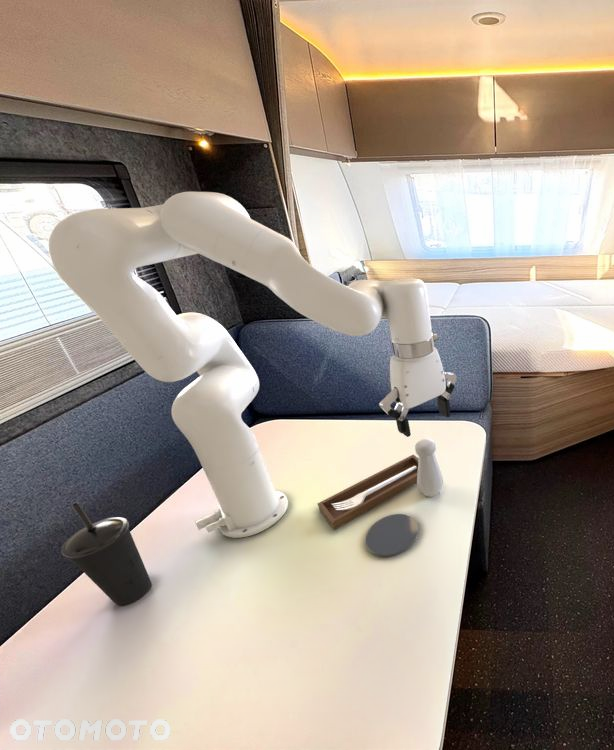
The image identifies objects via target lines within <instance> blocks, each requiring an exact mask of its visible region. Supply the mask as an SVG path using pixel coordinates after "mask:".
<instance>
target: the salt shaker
mask: <svg viewBox="0 0 614 750" xmlns="http://www.w3.org/2000/svg"><path fill="white" fill-rule="evenodd" d="M414 450H415V454H416V455H417V456H418V457H417V458H418V474H417V483H416V486H417V489H418V490H419V491H420V492H421V494H422V495H423V496H424V497H431V498H433V497H435V496H437V495H438V494H440V493H441V489H442V487H443V485H444V478H443V475H442V471H441V469H440V466H439V463H438V461H437V458H436V455H435V452H436V450H437V448H436V442H435V441H434V440H433V439H431V438H423V439H419V440H418V441H417V442H416V443H415V445H414Z"/></svg>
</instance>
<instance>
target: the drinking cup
mask: <svg viewBox="0 0 614 750" xmlns="http://www.w3.org/2000/svg"><path fill="white" fill-rule="evenodd" d="M71 507H72V509H74V511H75V513H76V514H77V516H78V517H79V519H80V521H81V522H82V523H83V525H84V526H85V527H83V528H81V529H79V530H78V531H77V532H75V533H74V534H73V535H71V536H70V537H69V538H68V539H67V540H66V541H65V542H64V543H63V544H62V545H61V549H60V552H61V554H62V556H63V557H65V558H67V559H70V560H71V562H73V563H74V564H75V565H76V566H77V567H78V568H79V569H80V570H81V571H82V572H83V573H84V574H85V575H86V576H87V577H88V578H89V579H90V580H91V581H92V582H93V583H94V584H95V585H96V586H97V587H98V588H99V589H100V590H101V591H102V592H103V593H104V594H105V595H106V596H107V597H108V598H109V599H110V601H112V602H113V603H114V604H115V605H116V606H118V607H125V606H128V605H131V604H134V603H136V602H138V601H139V600H141V599H142V598H143V597H144V596H145V595H147V593H149V591H150V589H152V585H153V584H152V580H151V578H150V576H149V574H148V573H149V572H148V571H147V568H146V566H145V564H144V561H143V559H142V557H141V554H140V552H139V549H138V547H137V544H136V543H135V540H134V537H133V535H132V533H131V530H130V529H129V526H130V524H129V523H130V522H129V521H128V519H127V518H125V517H122V516H112V517H107V518H104V519H100V520H98V521H96V522H93V523H92V522H91V521H90V518H89V516H88V515H87V514H86V513H85V511H84V510H83V508H82V507H81V505H80V503H79V502H75V503H73V504H72V505H71Z"/></svg>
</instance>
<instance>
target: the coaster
mask: <svg viewBox="0 0 614 750" xmlns="http://www.w3.org/2000/svg"><path fill="white" fill-rule="evenodd" d="M419 531H420V529H419V525H418V522H417V520H415V518H414V517H412V516H411V515H408V514H404V513H394V514H390V515H386V516H385V517H382V518H380V519H378V520H377V521H375V522H374V524H372V525H371V527H370V528H369V530H368V532H367V533H366V536H365V545H366V548H367V550H368V551H369V552H370V553H371V554H372V555H374V556H376V557H381V558H390V557H394V556H398V555H400V554H402V553H404V552H406V551H408V549H410V548H411V547H412V546H413V545H414V544H415V542H416V541H417V539H418V536H419V533H420V532H419Z"/></svg>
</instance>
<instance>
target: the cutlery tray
mask: <svg viewBox="0 0 614 750" xmlns="http://www.w3.org/2000/svg"><path fill="white" fill-rule="evenodd" d="M418 458H419V457H417V456H416V455H415V453H414V454H411V455H409V456H407V457H405V458H402V460H399V461H397V462H395V463H393V464H391V465H390V466H388V467H386V468H384V469H382V470H380V471H378V472H376V473H374V474H372V475H370V476H368V477H366V478H365V479H362V480H360V481H359V482H357V483H354V484H352V485H351V486H349V487H347V488H345V489H343V490H341V491H339V492H337V493H335V494H333V495H331V496H329V497H327V498H326V499H323V500H322V501H319V502H317V506H318V507H317V508H318V510H319V512H320V513H321V515H322V516H323V517H324V519H325V521H327V523H328V525H329V526H330V527H331V529H332V530H333V531H335V530H337V529H338V528H340V527H342V526H344V525H346V524H347V523H349V522H351V521H353V520H355V519H356V518H358V517H359V516H361V515H363V514H365V513H366V512H368V511H370V510H372V509H373V508H375V507H378V506H379V505H381V504H382V503H384V502H386V501H388V500H390V499H391V498H393V497H394V496H397V495H399V494H400V493H402V492H403V491H405V490H407V489H409V488H411V487H413V486H414V485H417V474H418ZM413 466H416V467H417V469H415V470H413V471H411V472H409V473H407V474H406V475H404V476H402V477H400V478H398V479H396V480H395V481H393V482H391V483H389V484H387V485H385V486H383V487H382V488H380V489H378V490H376V491H374V492H372V493H371V494H369V495H367V496H366V497H365V499H364V502H363V503H362V504H360V505H358V506H356V507H354V508H353V509H349V510H336V509H341V508H334V507H333V506H335V505H332V504H334V503H339V502H343V501H346V500H348V499H350V498H352V497H354V496H356V495H357V494H360V493H362V492H364V491H366V490H368V489H370V488H372V487H374V486H376V485H378V484H380V483H382V482H384V481H386V480H388V479H390V478H392V477H394V476H396V475H398V474H400V473H402V472H403V471H405V470H407V469H409V468H411V467H413ZM339 505H341V504H339ZM339 507H341V506H339Z"/></svg>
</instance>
